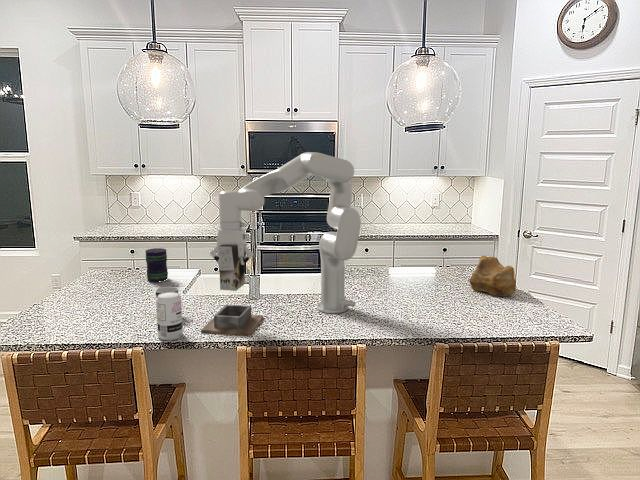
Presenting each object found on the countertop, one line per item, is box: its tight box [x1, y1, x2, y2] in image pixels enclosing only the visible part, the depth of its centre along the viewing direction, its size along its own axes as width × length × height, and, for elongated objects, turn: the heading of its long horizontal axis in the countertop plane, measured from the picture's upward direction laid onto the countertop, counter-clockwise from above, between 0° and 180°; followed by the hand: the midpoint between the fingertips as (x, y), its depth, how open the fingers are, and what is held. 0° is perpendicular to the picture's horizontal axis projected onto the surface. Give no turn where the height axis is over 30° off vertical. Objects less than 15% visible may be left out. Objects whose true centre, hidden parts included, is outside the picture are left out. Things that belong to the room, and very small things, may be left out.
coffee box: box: [218, 245, 246, 292], centre depth 176 cm, size 9×6×16 cm
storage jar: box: [145, 247, 169, 283], centre depth 239 cm, size 10×10×15 cm
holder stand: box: [200, 304, 264, 336], centre depth 180 cm, size 18×18×6 cm
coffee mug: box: [154, 286, 180, 298], centre depth 189 cm, size 12×9×10 cm
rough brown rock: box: [468, 255, 517, 298], centre depth 223 cm, size 23×17×15 cm
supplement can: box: [155, 292, 184, 341], centre depth 168 cm, size 8×8×15 cm
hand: (232, 274), depth 177 cm, fingers closed on coffee box, 6 cm apart
